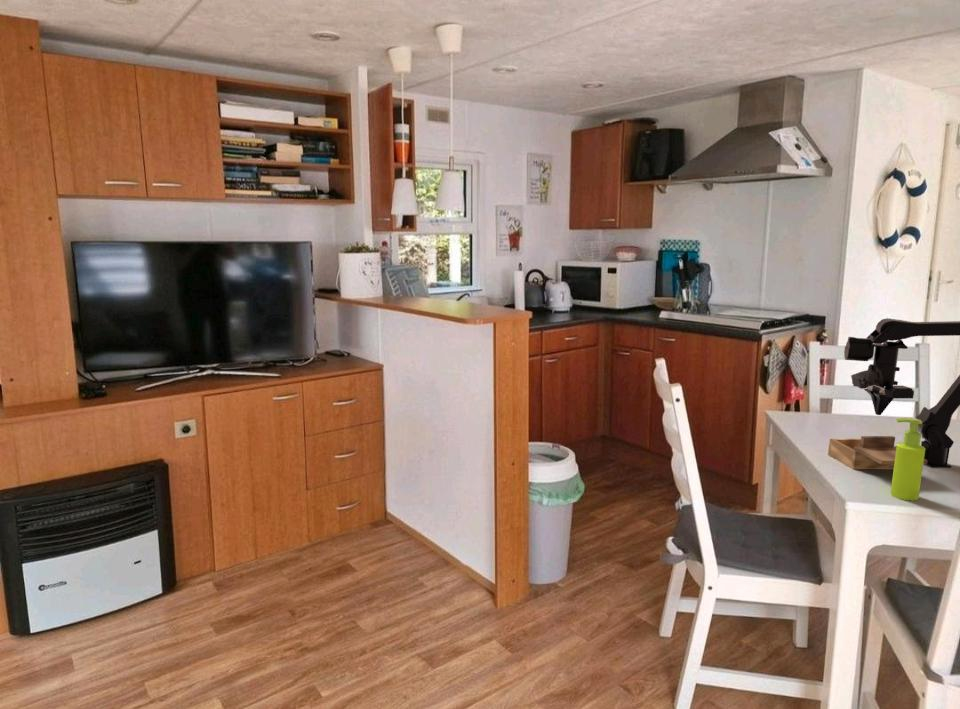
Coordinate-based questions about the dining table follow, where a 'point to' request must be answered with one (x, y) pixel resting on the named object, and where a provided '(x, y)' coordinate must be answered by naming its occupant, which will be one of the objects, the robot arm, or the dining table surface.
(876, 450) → the lid
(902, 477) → the soap dispenser
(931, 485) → the dining table surface
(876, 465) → the wooden box
